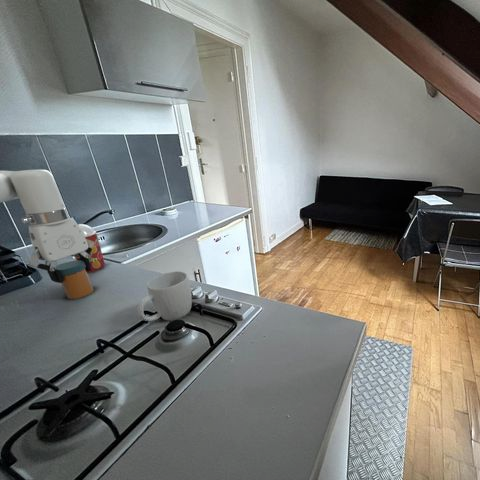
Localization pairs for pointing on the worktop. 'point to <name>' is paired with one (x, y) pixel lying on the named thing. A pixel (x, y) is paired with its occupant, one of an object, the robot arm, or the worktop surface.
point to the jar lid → (71, 267)
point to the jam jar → (77, 285)
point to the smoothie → (96, 253)
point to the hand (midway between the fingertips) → (73, 275)
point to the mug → (168, 296)
